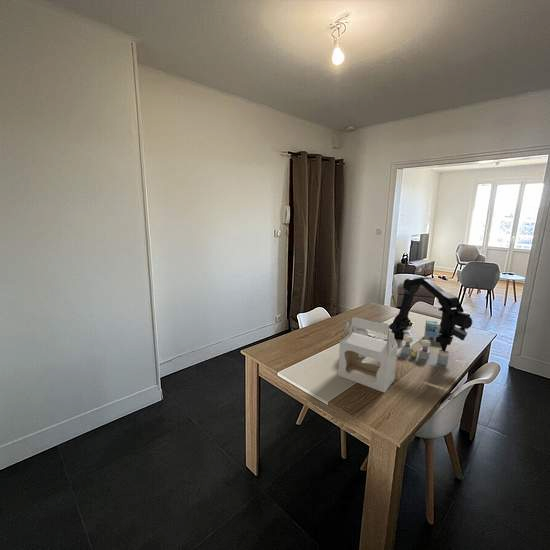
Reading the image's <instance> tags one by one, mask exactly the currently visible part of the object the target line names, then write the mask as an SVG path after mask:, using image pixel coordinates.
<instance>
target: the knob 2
mask: <svg viewBox="0 0 550 550" xmlns="http://www.w3.org/2000/svg"><path fill="white" fill-rule="evenodd" d="M438 354H439V355H440V356H442V357H448V356H450V352H449V350H447V349H446V350H445V351H442V348H440V349H439V350H438ZM448 358H449V357H448Z"/></svg>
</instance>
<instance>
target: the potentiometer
mask: <svg viewBox="0 0 550 550" xmlns="http://www.w3.org/2000/svg"><path fill="white" fill-rule="evenodd" d="M417 351H418V350H417V349H413V350H411V355H410V358H411V359H417ZM411 359H410V360H411Z"/></svg>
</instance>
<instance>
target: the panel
mask: <svg viewBox="0 0 550 550" xmlns="http://www.w3.org/2000/svg"><path fill="white" fill-rule="evenodd" d="M405 345H406V343H403V344H402V347H401V349H400V350H399V352H397V356H398V357H401V358H403V359H407V360H411V361H415V362H419V363H422V364H426V365H430V366H432V367H435V368H436V367H437V368H440V369H443V370H447V371H448V370H450V366H451V364H452V361H453V360H452V358H451V359H450V358H449V356H450V355H449V356H448V357H442V356H440V355H439V353H438V355H435V354H432V353H431V350H430V349H428V348H427V352H425V351H423V347H420V349H419V350H417V359H411V358H410V355H411V350H414V349H413V344H412V345H411V344H410V346H409V347H406V346H405Z"/></svg>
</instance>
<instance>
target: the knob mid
mask: <svg viewBox="0 0 550 550" xmlns="http://www.w3.org/2000/svg"><path fill="white" fill-rule="evenodd" d="M420 346H422V348H423V351H425V352H427V349H428V348H429V347H431V340H425V339H421V340H420Z"/></svg>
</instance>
